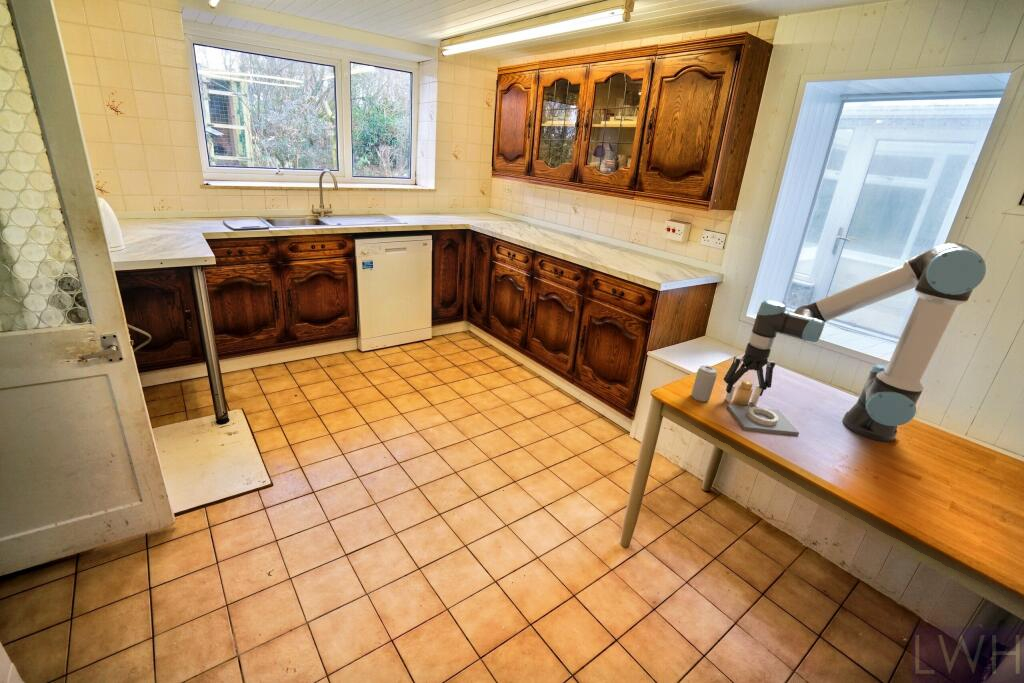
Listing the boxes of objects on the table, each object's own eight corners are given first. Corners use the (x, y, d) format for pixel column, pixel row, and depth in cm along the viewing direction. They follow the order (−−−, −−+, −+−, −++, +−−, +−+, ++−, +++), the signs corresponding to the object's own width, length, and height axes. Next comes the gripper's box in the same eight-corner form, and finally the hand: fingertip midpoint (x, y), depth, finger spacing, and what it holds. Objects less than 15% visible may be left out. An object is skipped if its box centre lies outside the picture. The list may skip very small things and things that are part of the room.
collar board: (777, 412, 168) (780, 405, 167) (798, 435, 155) (800, 428, 154) (727, 407, 168) (729, 400, 167) (743, 429, 155) (746, 422, 154)
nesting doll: (744, 399, 175) (751, 380, 172) (750, 406, 170) (756, 386, 167) (731, 398, 175) (737, 379, 172) (736, 405, 170) (743, 385, 167)
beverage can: (710, 397, 173) (719, 368, 169) (706, 404, 168) (716, 374, 164) (693, 391, 176) (701, 362, 172) (688, 398, 171) (697, 368, 167)
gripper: (785, 343, 167) (765, 399, 176) (724, 337, 167) (707, 393, 176) (796, 352, 160) (775, 410, 169) (733, 346, 160) (715, 403, 169)
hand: (740, 401), depth 172 cm, fingers open, 9 cm apart
